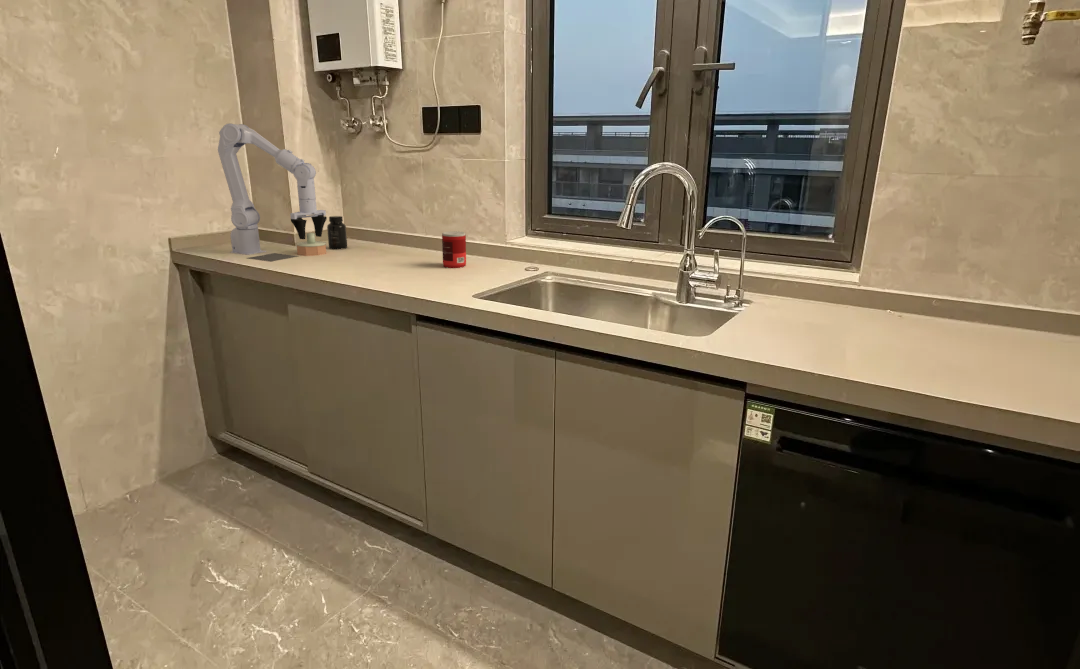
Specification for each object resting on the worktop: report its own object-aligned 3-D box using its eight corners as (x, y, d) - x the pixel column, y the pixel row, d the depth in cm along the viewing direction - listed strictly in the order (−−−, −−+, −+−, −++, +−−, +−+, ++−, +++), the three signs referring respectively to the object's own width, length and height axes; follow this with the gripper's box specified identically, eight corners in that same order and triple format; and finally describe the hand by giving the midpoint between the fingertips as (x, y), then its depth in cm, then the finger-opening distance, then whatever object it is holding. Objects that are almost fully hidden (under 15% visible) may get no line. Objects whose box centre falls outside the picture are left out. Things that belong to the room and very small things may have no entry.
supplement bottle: (351, 247, 238) (349, 216, 235) (337, 250, 233) (334, 217, 229) (339, 246, 242) (336, 215, 238) (324, 248, 236) (322, 216, 233)
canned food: (468, 264, 210) (467, 231, 207) (463, 268, 202) (462, 235, 199) (446, 263, 211) (445, 231, 208) (440, 267, 203) (439, 234, 200)
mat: (246, 259, 212) (245, 258, 212) (274, 254, 222) (274, 253, 222) (271, 262, 207) (270, 261, 207) (299, 257, 217) (298, 256, 217)
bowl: (292, 254, 221) (291, 245, 220) (312, 251, 230) (311, 241, 229) (311, 257, 217) (310, 247, 216) (332, 253, 226) (331, 243, 225)
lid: (290, 245, 220) (289, 234, 218) (309, 241, 229) (308, 230, 227) (313, 247, 216) (312, 236, 215) (332, 243, 225) (331, 232, 224)
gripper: (299, 201, 210) (303, 241, 214) (330, 198, 222) (334, 236, 226) (284, 199, 213) (288, 239, 217) (316, 197, 225) (319, 234, 229)
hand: (310, 237), depth 222 cm, fingers open, 7 cm apart
